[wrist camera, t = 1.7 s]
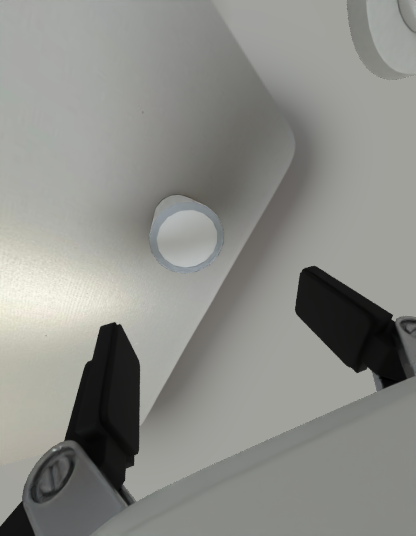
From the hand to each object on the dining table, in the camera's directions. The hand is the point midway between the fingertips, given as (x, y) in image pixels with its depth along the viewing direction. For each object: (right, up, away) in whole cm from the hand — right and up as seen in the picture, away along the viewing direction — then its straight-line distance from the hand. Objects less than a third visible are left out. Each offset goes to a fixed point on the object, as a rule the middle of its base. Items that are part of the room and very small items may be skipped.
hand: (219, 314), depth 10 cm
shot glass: (-4, +8, +14) cm, 17 cm away
